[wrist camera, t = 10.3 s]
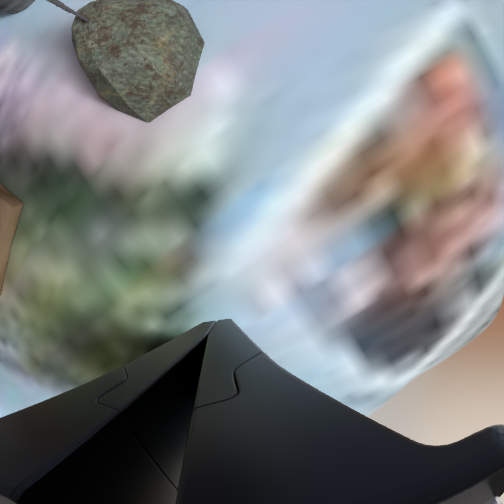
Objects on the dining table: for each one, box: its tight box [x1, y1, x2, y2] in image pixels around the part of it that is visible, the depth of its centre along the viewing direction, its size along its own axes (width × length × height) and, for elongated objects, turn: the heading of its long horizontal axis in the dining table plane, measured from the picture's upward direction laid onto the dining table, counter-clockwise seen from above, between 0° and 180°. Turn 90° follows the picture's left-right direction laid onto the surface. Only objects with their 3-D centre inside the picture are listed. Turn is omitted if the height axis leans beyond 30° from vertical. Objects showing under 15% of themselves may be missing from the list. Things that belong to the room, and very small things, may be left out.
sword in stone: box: [47, 0, 204, 122], centre depth 11 cm, size 10×8×12 cm
